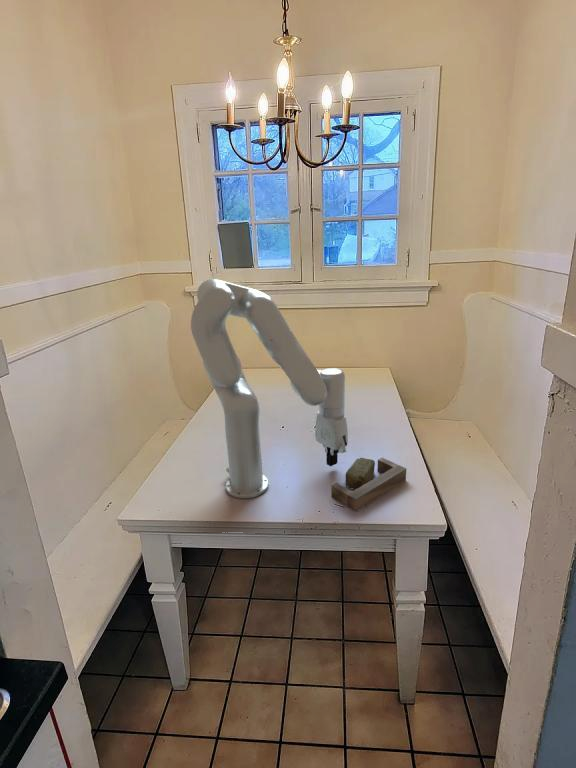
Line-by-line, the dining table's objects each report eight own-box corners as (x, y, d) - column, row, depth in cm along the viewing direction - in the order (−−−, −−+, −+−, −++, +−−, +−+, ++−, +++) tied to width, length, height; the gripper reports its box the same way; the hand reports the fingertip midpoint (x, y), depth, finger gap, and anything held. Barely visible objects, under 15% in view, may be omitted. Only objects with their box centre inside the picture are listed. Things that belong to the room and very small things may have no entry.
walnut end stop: (331, 497, 127) (331, 485, 126) (381, 468, 140) (381, 457, 139) (355, 511, 121) (355, 499, 119) (405, 480, 134) (406, 468, 132)
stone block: (375, 473, 138) (376, 459, 137) (363, 493, 129) (363, 478, 127) (357, 469, 141) (357, 455, 139) (344, 488, 132) (344, 473, 130)
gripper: (305, 406, 137) (306, 459, 144) (340, 421, 126) (340, 478, 133) (323, 399, 142) (324, 451, 148) (359, 413, 131) (358, 469, 137)
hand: (332, 463), depth 140 cm, fingers closed
